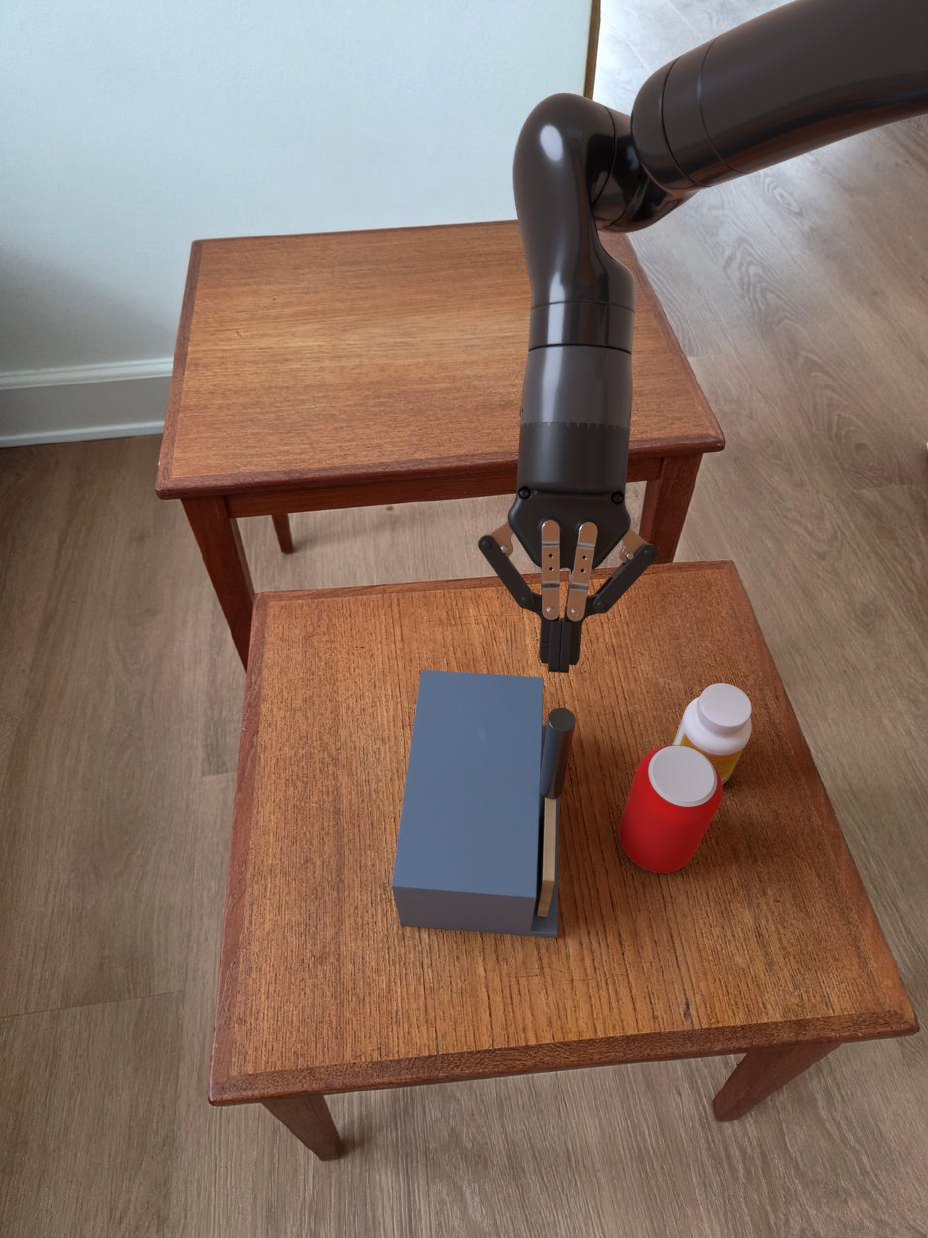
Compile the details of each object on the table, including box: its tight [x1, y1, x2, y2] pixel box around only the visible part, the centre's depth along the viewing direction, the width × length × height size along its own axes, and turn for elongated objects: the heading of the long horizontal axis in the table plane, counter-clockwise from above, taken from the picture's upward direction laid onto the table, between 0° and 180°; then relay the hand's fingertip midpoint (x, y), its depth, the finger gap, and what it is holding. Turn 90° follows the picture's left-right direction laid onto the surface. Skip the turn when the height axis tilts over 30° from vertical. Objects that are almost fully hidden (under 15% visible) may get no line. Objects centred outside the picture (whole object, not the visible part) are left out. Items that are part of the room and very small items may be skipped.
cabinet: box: [390, 669, 561, 939], centre depth 67 cm, size 12×18×9 cm, turn 175°
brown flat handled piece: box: [537, 707, 577, 917], centre depth 60 cm, size 2×8×18 cm, turn 175°
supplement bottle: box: [671, 682, 753, 785], centre depth 70 cm, size 5×5×10 cm
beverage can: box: [618, 744, 723, 874], centre depth 65 cm, size 6×6×12 cm
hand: (558, 670), depth 61 cm, fingers closed
